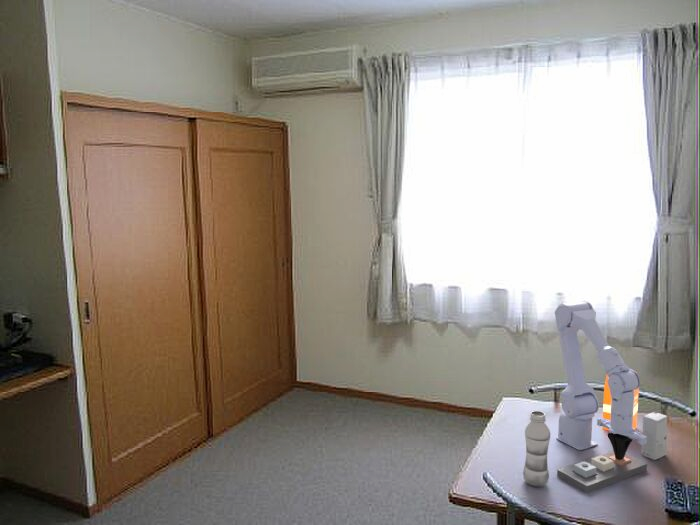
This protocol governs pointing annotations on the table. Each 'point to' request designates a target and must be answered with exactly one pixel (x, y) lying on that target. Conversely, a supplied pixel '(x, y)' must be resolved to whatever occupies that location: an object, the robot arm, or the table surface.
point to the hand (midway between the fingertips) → (619, 458)
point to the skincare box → (654, 435)
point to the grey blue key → (584, 469)
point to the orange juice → (608, 404)
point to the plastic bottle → (536, 450)
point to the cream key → (602, 463)
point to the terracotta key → (620, 462)
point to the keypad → (601, 473)
